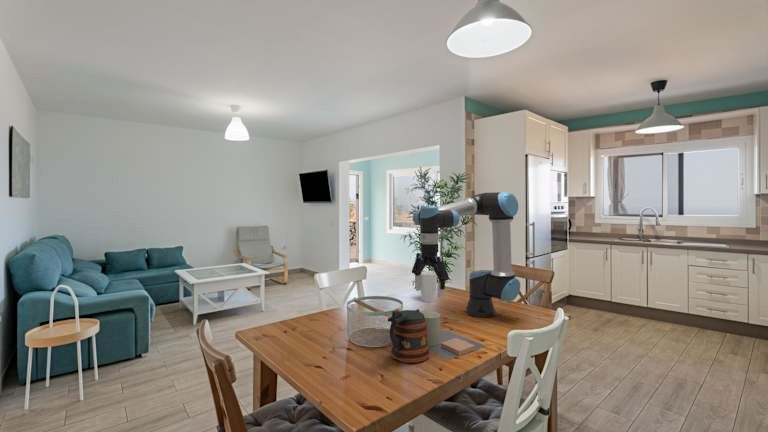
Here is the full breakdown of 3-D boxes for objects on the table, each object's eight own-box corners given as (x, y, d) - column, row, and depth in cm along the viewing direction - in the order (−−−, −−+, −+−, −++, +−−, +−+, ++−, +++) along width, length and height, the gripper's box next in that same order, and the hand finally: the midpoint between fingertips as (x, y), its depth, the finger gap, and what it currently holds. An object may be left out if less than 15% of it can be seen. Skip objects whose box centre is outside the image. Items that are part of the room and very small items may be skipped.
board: (447, 332, 165) (447, 330, 165) (486, 348, 147) (486, 346, 147) (410, 343, 152) (410, 341, 152) (448, 362, 134) (448, 359, 134)
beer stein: (410, 372, 126) (410, 316, 125) (376, 362, 134) (376, 309, 134) (435, 354, 141) (435, 303, 141) (403, 345, 150) (403, 298, 149)
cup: (418, 302, 214) (418, 274, 213) (419, 298, 224) (419, 270, 223) (437, 303, 212) (437, 274, 211) (437, 298, 222) (437, 271, 221)
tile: (456, 337, 151) (440, 342, 145) (475, 345, 142) (459, 351, 137) (456, 342, 151) (440, 347, 146) (474, 350, 143) (459, 355, 137)
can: (439, 346, 146) (439, 317, 145) (416, 345, 148) (416, 316, 147) (440, 338, 155) (440, 310, 154) (419, 336, 157) (419, 309, 156)
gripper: (403, 241, 158) (403, 289, 159) (444, 246, 137) (444, 301, 138) (416, 239, 162) (416, 286, 163) (457, 245, 142) (457, 298, 143)
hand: (429, 293), depth 151 cm, fingers open, 13 cm apart
